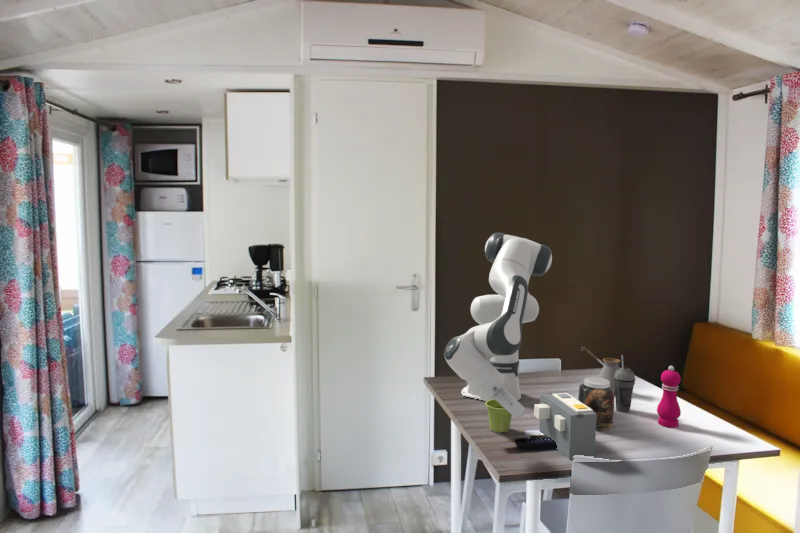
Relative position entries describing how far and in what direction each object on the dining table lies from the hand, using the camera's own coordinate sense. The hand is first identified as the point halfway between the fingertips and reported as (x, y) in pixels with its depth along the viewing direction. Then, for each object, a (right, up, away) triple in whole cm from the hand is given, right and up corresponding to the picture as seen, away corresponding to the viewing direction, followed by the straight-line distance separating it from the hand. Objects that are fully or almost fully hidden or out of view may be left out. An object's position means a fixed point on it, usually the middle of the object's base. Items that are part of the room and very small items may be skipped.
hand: (520, 414), depth 173 cm
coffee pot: (+45, -6, +66) cm, 80 cm away
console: (+16, -11, +10) cm, 22 cm away
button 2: (+14, -5, +4) cm, 15 cm away
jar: (+30, -10, +27) cm, 42 cm away
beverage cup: (+45, -9, +41) cm, 61 cm away
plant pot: (-2, -10, +22) cm, 24 cm away
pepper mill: (+55, -10, +28) cm, 62 cm away
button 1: (+10, -4, +13) cm, 17 cm away
